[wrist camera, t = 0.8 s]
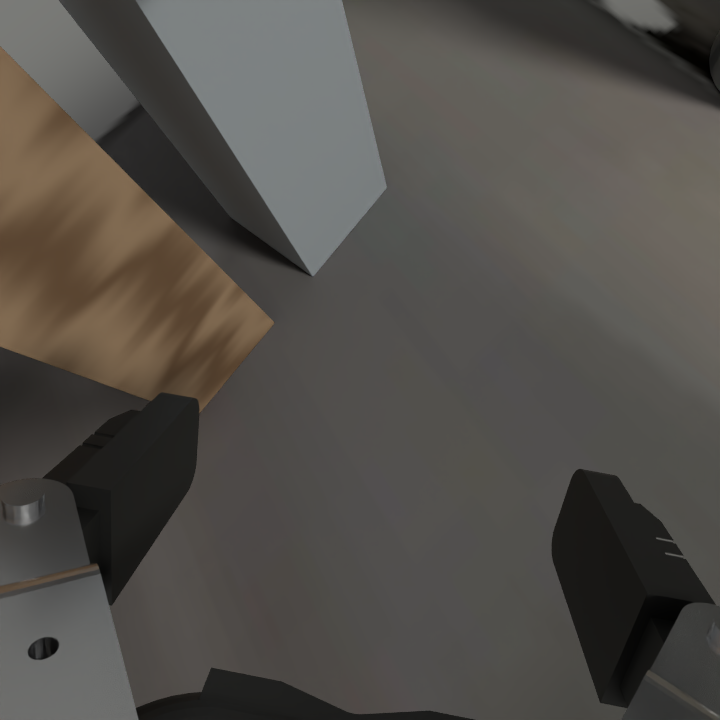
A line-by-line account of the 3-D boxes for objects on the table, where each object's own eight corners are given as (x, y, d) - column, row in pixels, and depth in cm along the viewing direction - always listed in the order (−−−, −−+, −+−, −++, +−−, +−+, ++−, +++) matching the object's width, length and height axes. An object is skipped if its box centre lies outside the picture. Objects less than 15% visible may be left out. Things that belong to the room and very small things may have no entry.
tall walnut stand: (163, 222, 41) (-680, -595, 11) (327, 347, 36) (-365, -489, 6) (75, 324, 40) (-1118, -260, 10) (230, 466, 36) (-1152, 177, 5)
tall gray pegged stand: (269, 102, 42) (-95, -663, 15) (441, 208, 38) (374, -632, 10) (185, 198, 41) (-369, -429, 14) (350, 319, 37) (4, -270, 9)
